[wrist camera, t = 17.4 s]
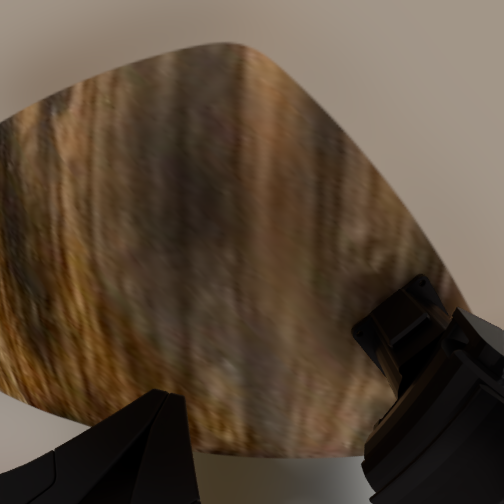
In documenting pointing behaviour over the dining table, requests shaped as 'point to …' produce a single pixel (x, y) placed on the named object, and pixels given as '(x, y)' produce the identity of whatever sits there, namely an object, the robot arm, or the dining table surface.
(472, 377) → the robot arm
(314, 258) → the dining table surface
